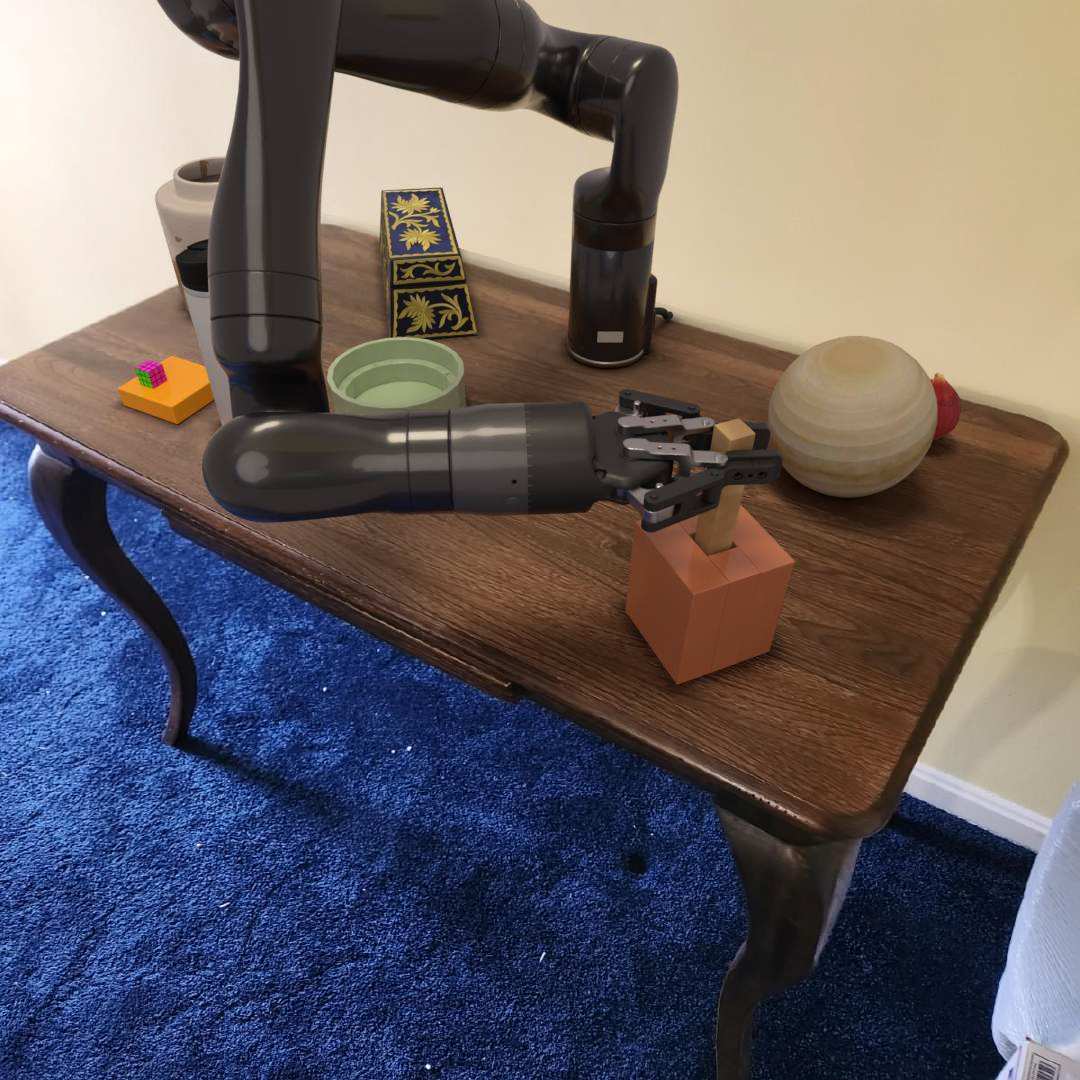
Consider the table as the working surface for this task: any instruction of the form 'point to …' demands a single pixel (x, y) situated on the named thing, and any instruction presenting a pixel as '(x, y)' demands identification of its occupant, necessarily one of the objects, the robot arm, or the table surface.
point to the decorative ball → (852, 416)
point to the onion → (945, 406)
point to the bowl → (396, 377)
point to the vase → (188, 206)
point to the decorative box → (422, 267)
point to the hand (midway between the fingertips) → (772, 451)
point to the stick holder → (706, 595)
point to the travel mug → (203, 319)
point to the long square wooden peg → (724, 491)
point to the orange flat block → (168, 389)
